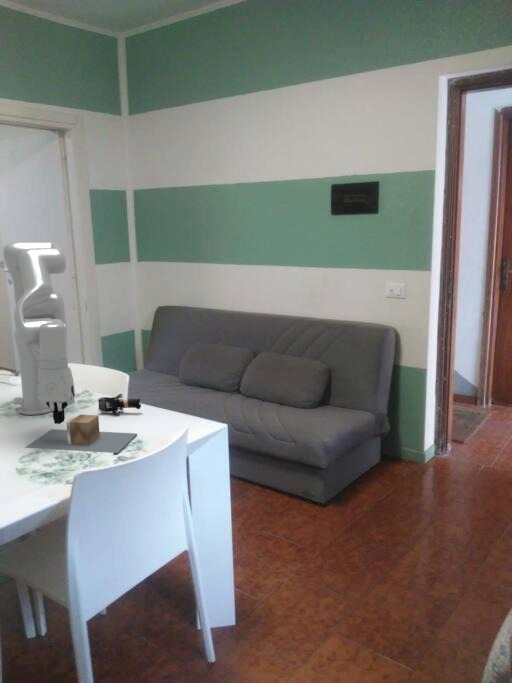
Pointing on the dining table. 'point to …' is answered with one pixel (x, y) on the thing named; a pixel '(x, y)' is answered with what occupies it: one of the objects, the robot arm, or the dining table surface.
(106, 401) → the toy
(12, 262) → the robot arm
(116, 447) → the slate mat
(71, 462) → the dining table surface
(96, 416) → the walnut cube
